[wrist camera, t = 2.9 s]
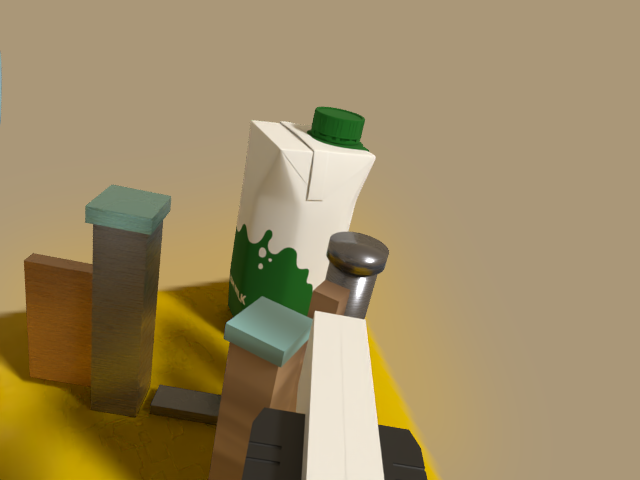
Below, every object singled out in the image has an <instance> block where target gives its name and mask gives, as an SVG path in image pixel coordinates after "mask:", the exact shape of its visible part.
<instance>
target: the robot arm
mask: <svg viewBox="0 0 640 480" xmlns="http://www.w3.org/2000/svg"><path fill="white" fill-rule="evenodd" d="M1 76H2V75H1V53H0V122H1V87H2V86H1V85H2V84H1V83H2V77H1ZM424 469H425V466H424V461H423V457H422V452H421V448H420V446H419V445H418V443H417V442H416V440H415V439H414V437H413V435H412V434H411V432H410V431H409V430H407V429H401V428H395V427H389V426H383V425H378V422H377V413H376V405H375V396H374V388H373V379H372V371H371V362H370V354H369V345H368V337H367V328H366V320H364V319H359V318H353V317H347V316H342V315H336V314H331V313H325V312H319V311H315V312H314V317H313V321H312V326H311V330H310V334H309V339H308V343H307V348H306V352H305V357H304V361H303V365H302V370H301V374H300V379H299V383H298V393H297V404H296V412H290V411H284V410H278V409H272V408H266V407H264V408H263V409H262V411H261V412H260V413H259V415H258V416H257V417H256V418H255V420H254V421H253V422H252V427H251V433H250V438H249V443H248V449H247V454H246V459H245V464H244V470H243V475H242V480H427V476H426V472H425V470H424Z"/></svg>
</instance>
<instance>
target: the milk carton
mask: <svg viewBox="0 0 640 480" xmlns="http://www.w3.org/2000/svg"><path fill="white" fill-rule="evenodd" d="M364 122H365V119H364V117H362V116H360V115H358V114H356V113H352V112H349V111H346V110H342V109H337V108H331V107H317V108H316V110H315V114H314V118H313V123H312V126H311V125H301V124H294V123H290V122H280V123H273V122H263V121H254V120H251V124H250V133H249V141H248V149H247V157H246V165H245V173H244V179H243V186H242V193H241V200H240V206H239V214H238V221H237V227H236V234H235V241H234V248H233V255H232V262H231V269H230V281H229V299H228V306H229V308H230V310H231V313H232V315H233V318H234V317H235V316H236V315H238V314H239V313H240V312H242V311H243V310H244V309H246V308H247V307H248V306H250V305H251V304H252V303H254V302H255V301H256V300H258V299H259V298H260V297H262V296H263V297H265V298H267V299H270V300H272V301H274V302H276V303H278V304H280V305H283V306H285V307H287V308H289V309H291V310H294V311H296V312H298V313H300V314H302V315H304V316H307V315H308V311H309V307H310V302H311V298H312V294H313V290H314V289H315V288H316V287H318V286H319V285H320V284H321V283H322V282H323V281H325V278H326V274H327V270H328V265H329V260H328V258H327V256H326V252H327V248H328V244H329V240H330V237H331V235H333V234H335V233H338V232H348V230H349V226H350V222H351V218H352V214H353V210H354V206H355V202H356V200H357V197H358V195H359V193H360V191H361V188H362V186H363V184H364V182H365V180H366V178H367V176H368V174H369V171H370V169H371V167H372V165H373V163H374V161H375V159H376V158H375V156H374V155H373V154H371V153H370V152H369V150H368V149H366V148H365V147H363V144H362V143H361V142H360V138H361V135H362V130H363V126H364Z"/></svg>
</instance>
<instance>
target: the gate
mask: <svg viewBox="0 0 640 480" xmlns="http://www.w3.org/2000/svg"><path fill="white" fill-rule="evenodd" d="M349 294H350V290H349V289H346V288H344V287H342V286H339V285H337V284H335V283H332V282H330V281H328V280H325V281H323V282H322V283H321V284H320V285H319V286H318V287H316V288H315V289H314V290H313V294H312V298H311V302H310V307H309V311H308V315H307V316H304V315H302V314H300V313H298V312H296V311H294V310H291V309H289V308H287V307H285V306H283V305H280V304H278V303H276V302H274V301H272V300H270V299H267V298H265V297H263V296H262V297H260V298H259V299H258V300H256V301H255V302H254V303H252V304H251V305H250V306H248V307H247V308H246V309H244V310H243V311H242V312H240V313H239V314H238V315H236V316H235V317H234V318H232V319H231V320H229V321H228V322H227V323H226V327H225V333H224V339H225V340H227V341H229V342H230V344H229V351H228V357H227V364H226V370H225V376H224V383H223V389H222V395H221V402H220V408H219V415H218V421H217V427H216V434H215V440H214V447H213V453H212V459H211V466H210V472H209V478H208V480H242V475H243V470H244V464H245V459H246V454H247V449H248V443H249V438H250V433H251V427H252V422H253V421H254V420H255V418H256V417H257V416H258V415H259V413H260V412H261V411H262V409H263V408H264V407H266V408H272V409H278V410H284V411H290V412H296V404H297V393H298V383H299V379H300V374H301V370H302V365H303V361H304V357H305V352H306V348H307V343H308V339H309V334H310V330H311V326H312V321H313V317H314V312H315V311H319V312H325V313H331V314H336V315H342V316H344V313H345V309H346V305H347V301H348V298H349Z"/></svg>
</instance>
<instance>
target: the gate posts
mask: <svg viewBox="0 0 640 480" xmlns="http://www.w3.org/2000/svg"><path fill="white" fill-rule="evenodd" d="M170 205H171V196H168V195H163V194H157V193H152V192H147V191H142V190H137V189H132V188H127V187H122V186H116V185H111V186H110V187H108V188H107V189H106V190H105V191H103V192H102V193H101V194H100V195H98V196H97V197H96V198H95V199H93V200H92V201H91V202H90V203H88V204H87V205H86V211H85V214H86V218H85V220H86V221H85V222H86V223H91V224H93V264H88V263H82V262H77V261H72V260H66V259H61V258H55V257H50V256H45V255H39V254H34V253H33V254H32V255H30V256H29V257H28V258H27V259H25V260H24V271H25V289H26V309H27V329H28V348H29V368H30V377H35V378H40V379H46V380H52V381H58V382H64V383H70V384H76V385H82V386H88V387H91V410H95V411H101V412H107V413H113V414H119V415H125V416H131V417H136V415H137V413H138V411H139V409H140V407H141V405H142V403H143V401H144V398H145V396H146V394H147V392H148V390H149V388H150V382H151V369H152V356H153V343H154V330H155V318H156V305H157V292H158V279H159V266H160V253H161V241H162V228H163V219H164V218H165V217H166V215H167V214H168V213H169V212H170ZM388 254H389V250H388V248H387V247H386V246H385V245H384V244H383V243H382V242H380V241H379V240H377V239H375V238H373V237H370V236H368V235H364V234H361V233H355V232H338V233H335V234H333V235H331V237H330V240H329V244H328V248H327V252H326V256H327V258H328V260H329V265H328V270H327V274H326V278H325V280H328V281H330V282H332V283H335V284H337V285H339V286H342V287H344V288H346V289H349V290H350V294H349V298H348V301H347V305H346V309H345V313H344V316H347V317H353V318H359V319H365V315H366V312H367V308H368V305H369V302H370V298H371V294H372V291H373V288H374V284H375V281H376V277H377V274H379V273H381V272H382V271H383V270H384V268H385V264H386V261H387V258H388ZM220 402H221V395H216V394H210V393H204V392H199V391H193V390H187V389H181V388H175V387H169V386H163V385H159V388H158V390H157V392H156V394H155V396H154V398H153V401H152V403H151V406H150V414H154V415H160V416H166V417H172V418H178V419H184V420H190V421H196V422H202V423H208V424H214V425H217V421H218V415H219V408H220Z"/></svg>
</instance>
